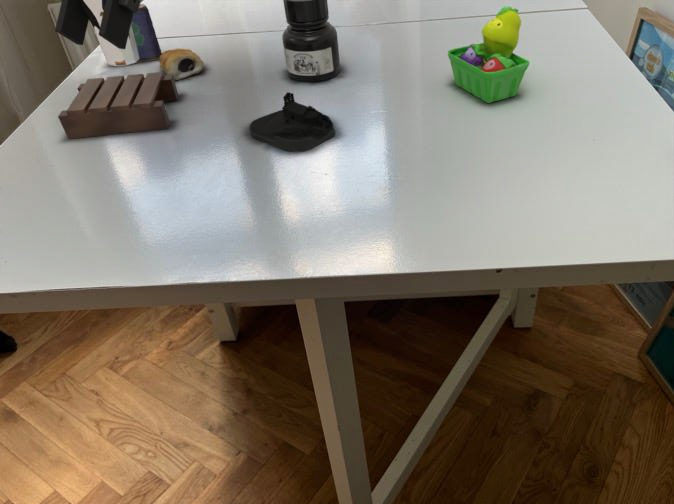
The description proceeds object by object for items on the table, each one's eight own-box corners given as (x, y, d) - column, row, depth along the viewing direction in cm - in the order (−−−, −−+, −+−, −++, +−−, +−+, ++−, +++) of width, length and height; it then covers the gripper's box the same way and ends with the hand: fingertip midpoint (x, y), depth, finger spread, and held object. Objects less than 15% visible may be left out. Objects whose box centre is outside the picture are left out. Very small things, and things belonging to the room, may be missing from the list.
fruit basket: (443, 83, 88) (445, 6, 80) (489, 71, 90) (496, -4, 83) (485, 109, 80) (492, 26, 72) (534, 95, 83) (546, 14, 75)
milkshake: (160, 57, 59) (130, -50, 53) (114, 72, 56) (75, -39, 50) (139, 48, 62) (106, -56, 55) (93, 62, 59) (53, -46, 52)
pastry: (153, 67, 99) (146, 45, 96) (189, 58, 102) (183, 36, 99) (172, 82, 93) (165, 59, 91) (210, 72, 96) (204, 49, 93)
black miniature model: (239, 132, 78) (231, 98, 75) (291, 107, 83) (285, 74, 80) (297, 156, 72) (291, 120, 68) (349, 128, 77) (346, 93, 74)
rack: (68, 139, 79) (55, 112, 76) (89, 104, 88) (78, 79, 85) (168, 128, 80) (159, 101, 77) (179, 95, 89) (171, 70, 86)
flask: (110, 67, 100) (87, 2, 93) (111, 61, 102) (88, -2, 95) (163, 59, 102) (144, -5, 95) (162, 54, 104) (143, -9, 97)
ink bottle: (277, 80, 92) (263, 2, 84) (298, 61, 98) (287, -14, 90) (331, 85, 89) (323, 4, 81) (350, 65, 95) (343, -12, 87)
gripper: (41, -220, 54) (-13, 13, 53) (195, -231, 49) (136, 25, 48) (100, -155, 61) (53, 51, 60) (239, -159, 56) (189, 65, 55)
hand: (90, 39), depth 54 cm, fingers closed on milkshake, 5 cm apart
